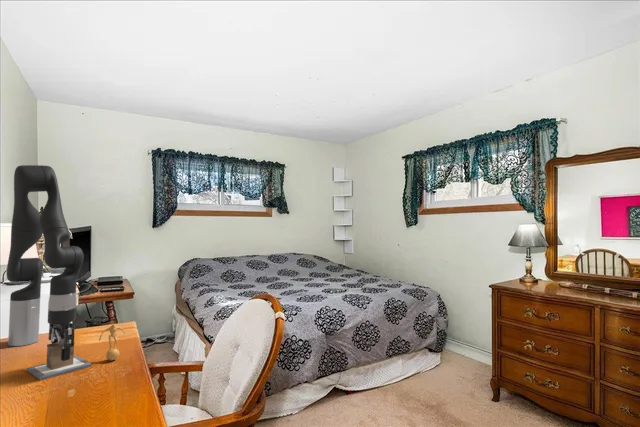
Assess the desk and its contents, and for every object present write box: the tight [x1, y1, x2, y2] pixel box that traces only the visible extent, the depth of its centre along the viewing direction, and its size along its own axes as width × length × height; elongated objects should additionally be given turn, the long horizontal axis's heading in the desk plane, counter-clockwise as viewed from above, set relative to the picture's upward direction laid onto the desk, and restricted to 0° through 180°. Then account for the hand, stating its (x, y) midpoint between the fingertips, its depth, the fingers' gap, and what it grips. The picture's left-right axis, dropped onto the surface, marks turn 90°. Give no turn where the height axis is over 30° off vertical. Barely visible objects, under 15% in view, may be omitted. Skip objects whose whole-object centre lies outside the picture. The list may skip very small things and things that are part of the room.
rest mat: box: [26, 355, 93, 381], centre depth 116 cm, size 12×14×1 cm
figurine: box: [98, 324, 127, 361], centre depth 125 cm, size 8×6×12 cm
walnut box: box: [46, 342, 76, 370], centre depth 116 cm, size 5×6×7 cm
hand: (60, 357), depth 116 cm, fingers open, 8 cm apart
